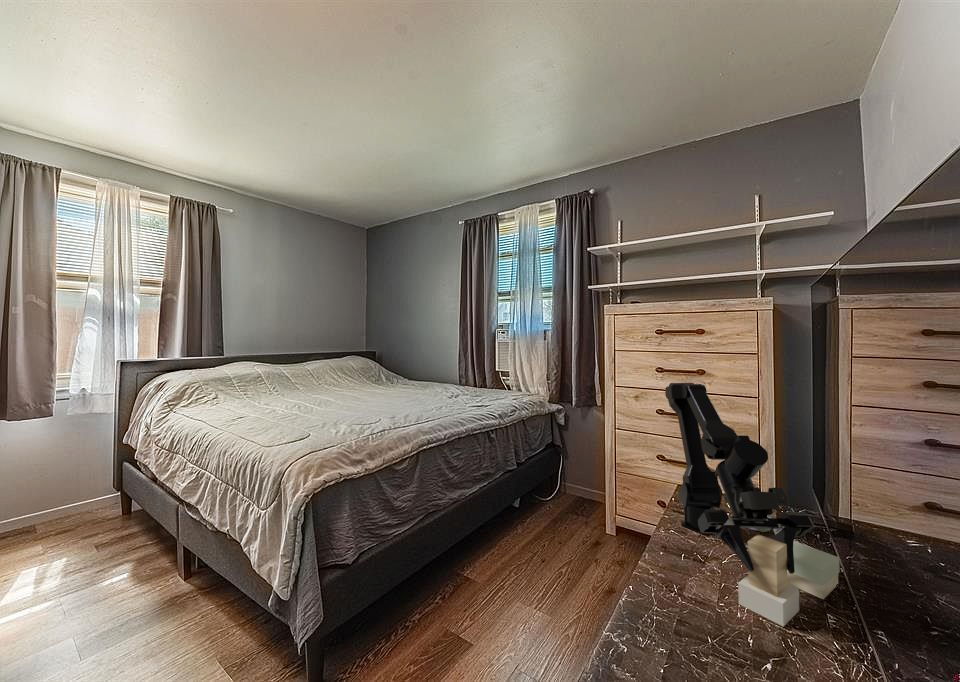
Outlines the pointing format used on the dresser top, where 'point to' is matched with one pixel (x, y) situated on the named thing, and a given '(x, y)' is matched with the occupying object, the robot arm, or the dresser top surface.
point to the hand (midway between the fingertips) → (772, 572)
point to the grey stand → (769, 602)
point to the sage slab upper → (814, 564)
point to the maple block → (768, 564)
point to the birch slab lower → (812, 585)
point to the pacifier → (760, 528)
